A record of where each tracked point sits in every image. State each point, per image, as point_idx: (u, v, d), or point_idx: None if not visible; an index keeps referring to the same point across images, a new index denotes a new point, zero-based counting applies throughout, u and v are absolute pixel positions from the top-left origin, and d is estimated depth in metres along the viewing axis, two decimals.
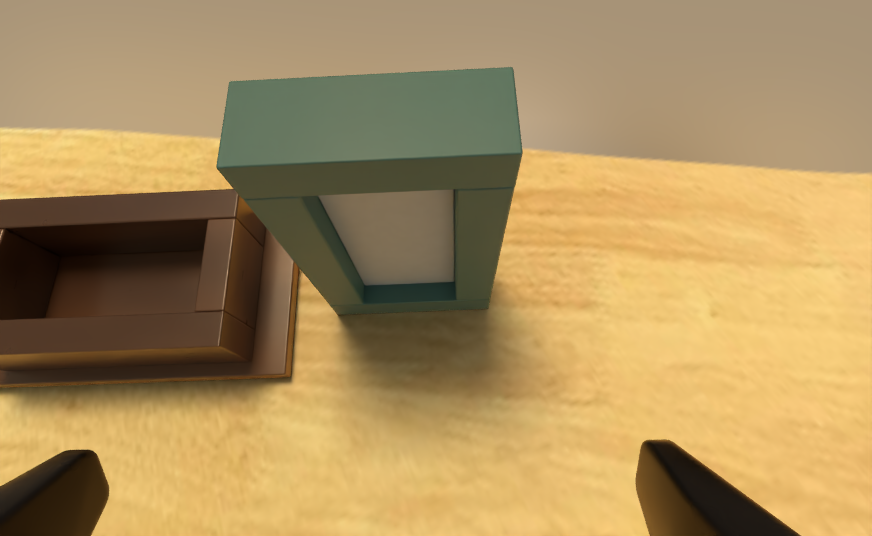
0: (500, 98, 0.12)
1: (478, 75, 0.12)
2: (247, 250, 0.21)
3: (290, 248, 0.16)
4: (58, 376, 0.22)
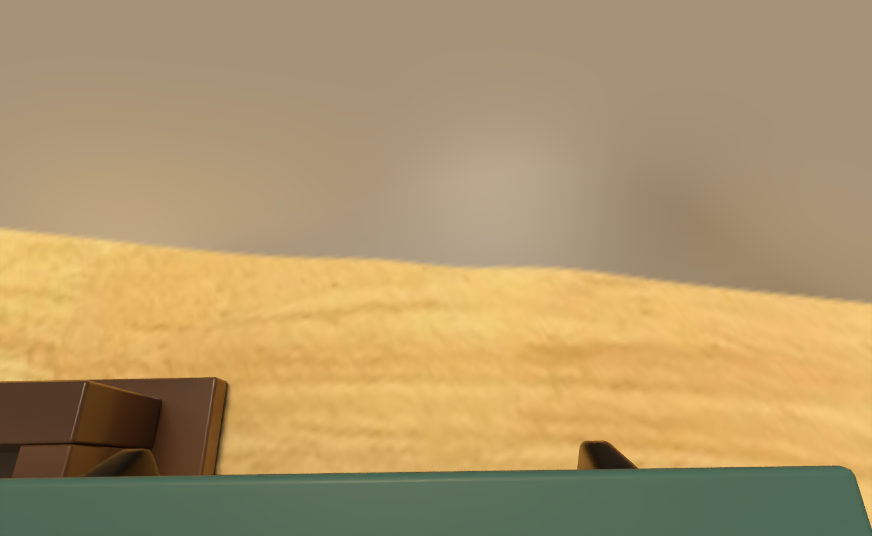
0: None
1: (697, 516, 0.03)
2: None
3: None
4: None
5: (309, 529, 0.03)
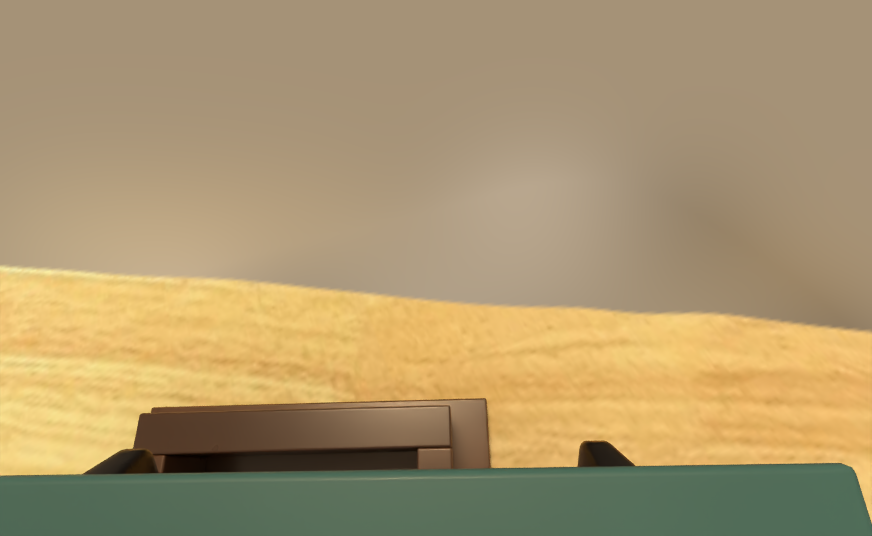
0: None
1: (696, 513, 0.03)
2: None
3: None
4: None
5: (311, 526, 0.03)
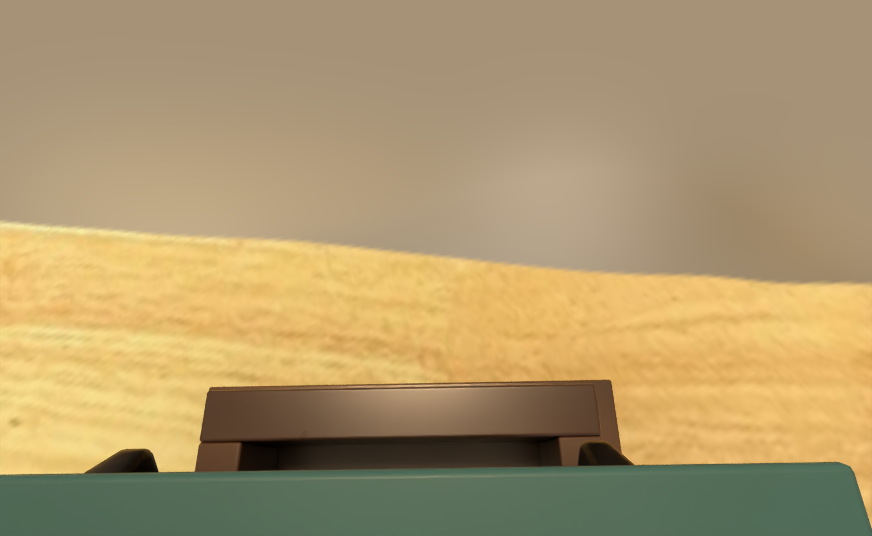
0: None
1: (696, 513, 0.03)
2: None
3: None
4: None
5: (309, 525, 0.03)
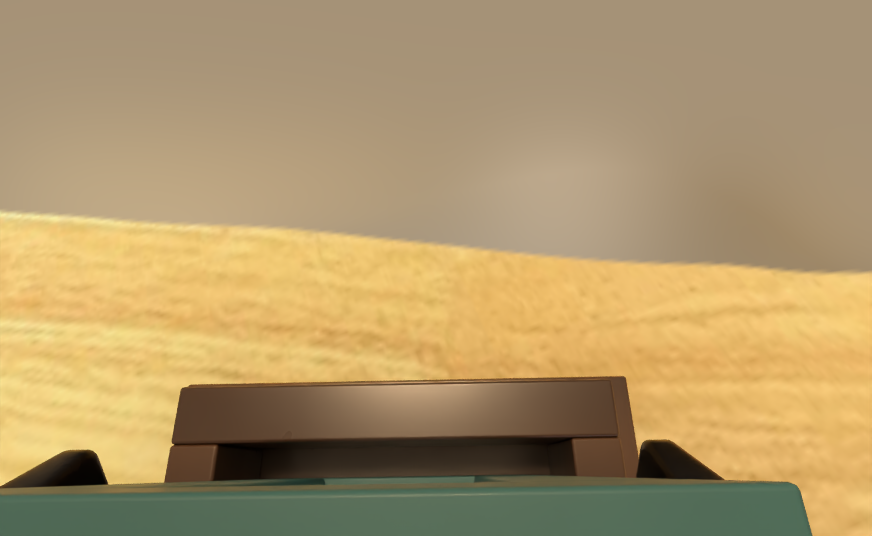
0: None
1: (664, 526, 0.03)
2: None
3: None
4: None
5: None
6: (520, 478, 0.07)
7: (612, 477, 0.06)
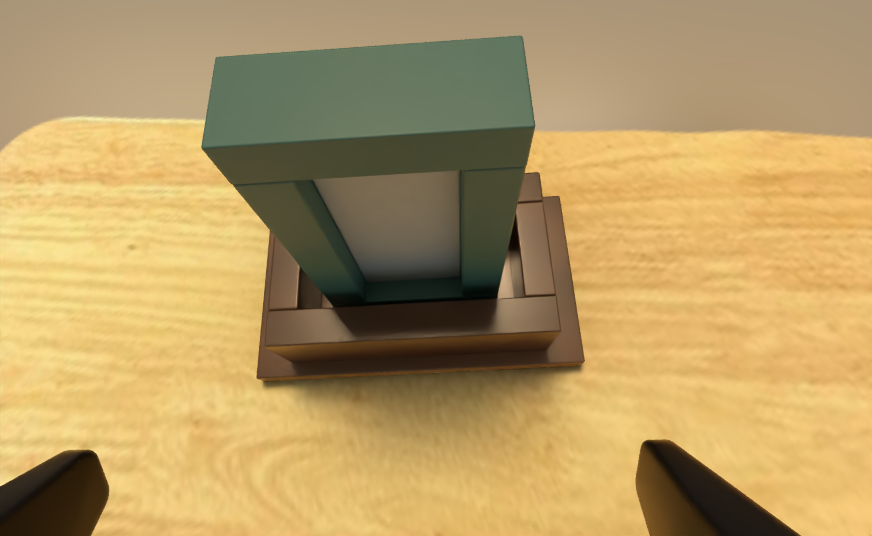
0: (510, 68, 0.11)
1: (484, 45, 0.11)
2: None
3: (286, 240, 0.15)
4: (348, 367, 0.21)
5: (396, 51, 0.11)
6: None
7: None
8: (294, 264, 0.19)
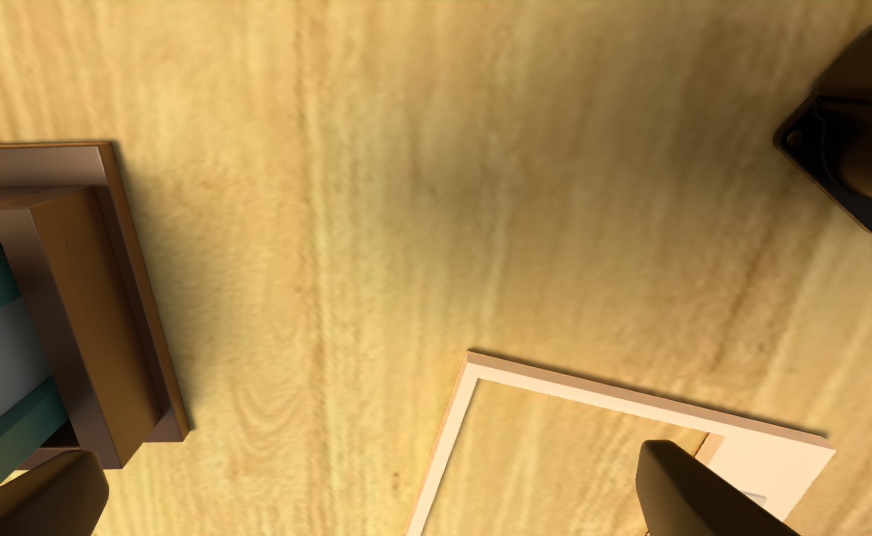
0: None
1: None
2: None
3: None
4: (157, 372, 0.22)
5: None
6: None
7: None
8: (35, 452, 0.20)
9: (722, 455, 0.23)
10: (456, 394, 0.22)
